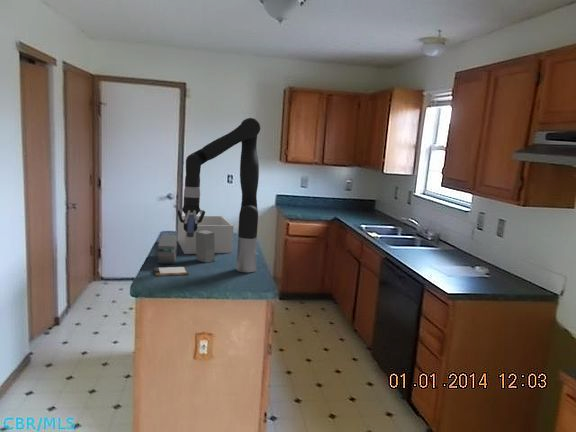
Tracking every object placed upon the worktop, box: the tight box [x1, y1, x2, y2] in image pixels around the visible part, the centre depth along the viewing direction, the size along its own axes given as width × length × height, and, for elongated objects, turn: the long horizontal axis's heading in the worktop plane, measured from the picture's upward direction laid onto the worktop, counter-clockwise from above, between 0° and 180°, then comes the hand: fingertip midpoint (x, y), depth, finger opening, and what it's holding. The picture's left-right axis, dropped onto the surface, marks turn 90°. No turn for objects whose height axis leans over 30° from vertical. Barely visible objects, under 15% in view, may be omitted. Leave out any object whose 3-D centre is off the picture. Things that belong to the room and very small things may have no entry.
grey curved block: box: [157, 234, 178, 265], centre depth 232 cm, size 25×8×11 cm, turn 10°
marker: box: [186, 213, 195, 237], centre depth 216 cm, size 4×4×12 cm
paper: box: [158, 266, 186, 274], centre depth 213 cm, size 12×9×1 cm
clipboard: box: [153, 266, 190, 277], centre depth 213 cm, size 15×11×2 cm
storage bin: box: [177, 215, 235, 255], centre depth 266 cm, size 27×31×16 cm
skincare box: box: [195, 230, 216, 263], centre depth 237 cm, size 8×7×16 cm
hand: (190, 230), depth 217 cm, fingers closed on marker, 3 cm apart
